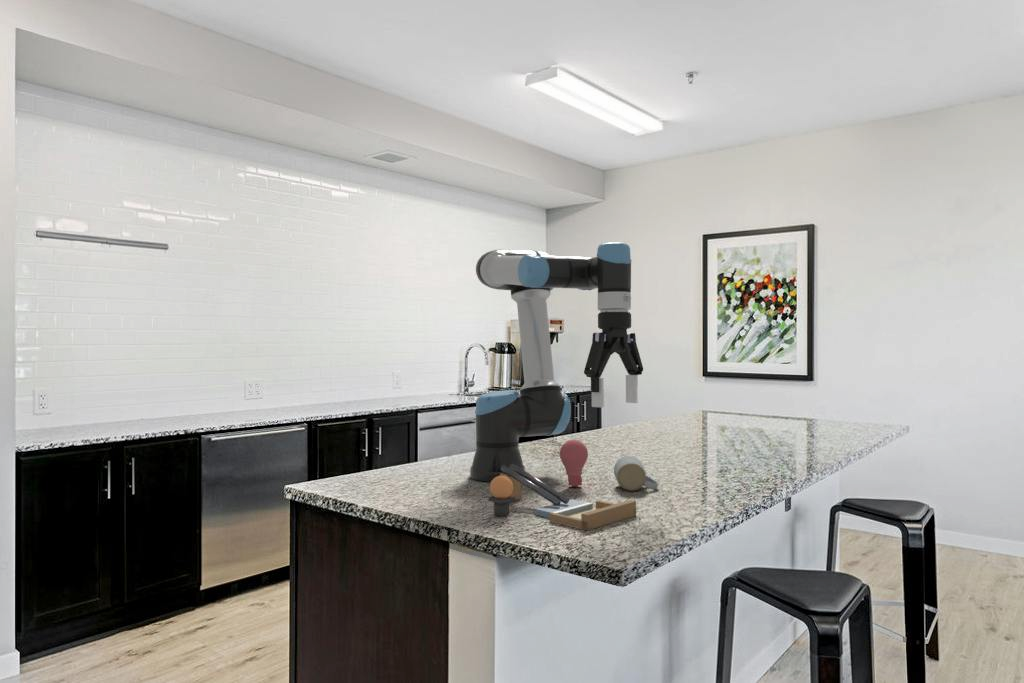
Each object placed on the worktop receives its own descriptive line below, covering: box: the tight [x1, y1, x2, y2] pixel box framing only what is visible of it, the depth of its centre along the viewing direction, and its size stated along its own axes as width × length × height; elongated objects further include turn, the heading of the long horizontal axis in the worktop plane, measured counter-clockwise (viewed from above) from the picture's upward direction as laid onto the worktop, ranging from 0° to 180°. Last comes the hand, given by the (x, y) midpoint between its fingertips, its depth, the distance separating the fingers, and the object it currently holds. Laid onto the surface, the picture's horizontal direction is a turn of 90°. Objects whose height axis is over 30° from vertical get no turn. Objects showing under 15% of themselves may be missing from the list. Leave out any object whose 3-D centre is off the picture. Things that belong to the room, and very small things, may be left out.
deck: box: [534, 499, 594, 519], centre depth 146 cm, size 6×12×1 cm, turn 134°
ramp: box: [500, 463, 570, 506], centre depth 152 cm, size 18×4×8 cm, turn 44°
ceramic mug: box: [613, 455, 659, 492], centre depth 168 cm, size 11×8×8 cm
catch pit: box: [549, 499, 637, 532], centre depth 140 cm, size 10×16×3 cm, turn 135°
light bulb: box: [559, 439, 589, 488], centre depth 171 cm, size 7×7×12 cm
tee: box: [487, 495, 515, 517], centre depth 144 cm, size 4×4×4 cm
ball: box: [489, 476, 513, 499], centre depth 144 cm, size 5×5×5 cm
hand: (615, 405), depth 154 cm, fingers open, 13 cm apart
